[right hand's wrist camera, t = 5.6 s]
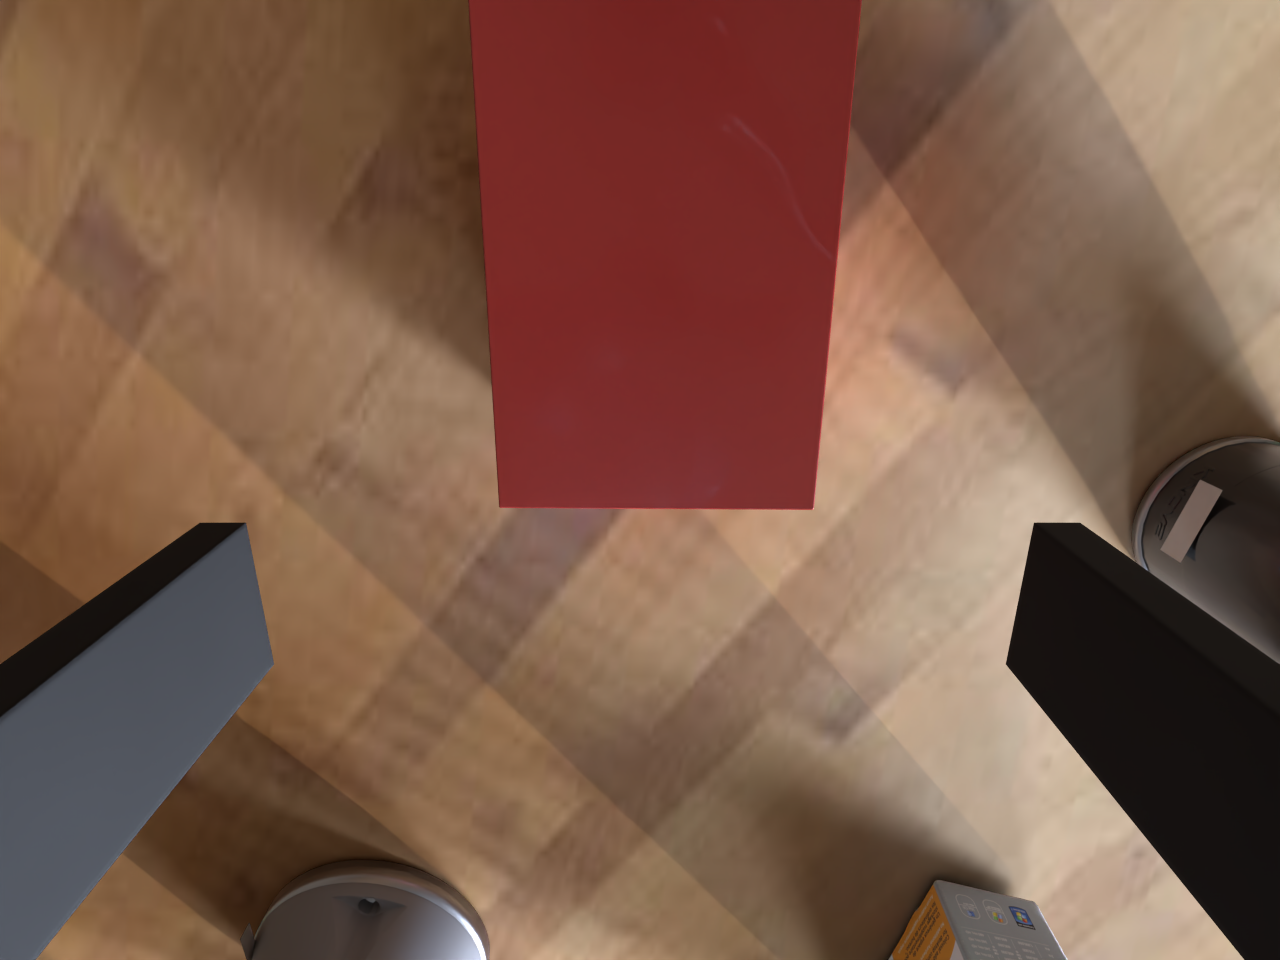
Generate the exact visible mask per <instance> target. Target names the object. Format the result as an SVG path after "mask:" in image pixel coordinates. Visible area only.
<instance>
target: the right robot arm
mask: <svg viewBox="0 0 1280 960" xmlns="http://www.w3.org/2000/svg"><path fill="white" fill-rule="evenodd" d="M273 665H274V662H273V656H272V651H271V646H270V641H269V636H268V631H267V626H266V621H265V616H264V611H263V606H262V601H261V596H260V591H259V586H258V581H257V576H256V571H255V566H254V561H253V556H252V551H251V546H250V541H249V536H248V531H247V526H246V523H199V524H198V525H196V526H195V527H193V528H192V529H191V530H189V531H188V532H186V533H185V534H183V535H182V536H181V537H179V538H178V539H176V540H175V541H174V542H172V543H171V544H169V545H168V546H167V547H165V548H164V549H162V550H161V551H160V552H158V553H157V554H155V555H154V556H152V557H151V558H150V559H148V560H147V561H145V562H144V563H143V564H141V565H140V566H138V567H137V568H136V569H134V570H133V571H131V572H130V573H128V574H127V575H126V576H124V577H123V578H121V579H120V580H119V581H117V582H116V583H114V584H113V585H112V586H110V587H109V588H107V589H106V590H104V591H103V592H102V593H100V594H99V595H97V596H96V597H95V598H93V599H92V600H90V601H89V602H88V603H86V604H85V605H83V606H82V607H81V608H79V609H78V610H76V611H75V612H73V613H72V614H71V615H69V616H68V617H66V618H65V619H64V620H62V621H61V622H59V623H58V624H57V625H55V626H54V627H52V628H51V629H49V630H48V631H47V632H45V633H44V634H42V635H41V636H40V637H38V638H37V639H35V640H34V641H33V642H31V643H30V644H28V645H27V646H25V647H24V648H23V649H21V650H20V651H18V652H17V653H16V654H14V655H13V656H11V657H10V658H9V659H7V660H6V661H4V662H3V663H2V664H0V960H36V958H37V957H38V956H39V955H40V954H41V952H42V951H43V950H44V949H45V947H46V946H47V945H48V944H49V942H50V941H51V940H52V939H53V937H54V936H55V935H56V934H57V932H58V931H59V930H60V929H61V928H62V926H63V925H64V924H65V923H66V921H67V920H68V919H69V918H70V916H71V915H72V914H73V913H74V911H75V910H76V909H77V908H78V906H79V905H80V904H81V903H82V901H83V900H84V899H85V898H86V897H87V895H88V894H89V893H90V892H91V890H92V889H93V888H94V887H95V885H96V884H97V883H98V882H99V880H100V879H101V878H102V877H103V875H104V874H105V873H106V872H107V871H108V869H109V868H110V867H111V866H112V864H113V863H114V862H115V861H116V859H117V858H118V857H119V856H120V854H121V853H122V852H123V851H124V849H125V848H126V847H127V846H128V845H129V843H130V842H131V841H132V840H133V838H134V837H135V836H136V835H137V833H138V832H139V831H140V830H141V828H142V827H143V826H144V825H145V823H146V822H147V821H148V820H149V818H150V817H151V816H152V815H153V814H154V812H155V811H156V810H157V809H158V807H159V806H160V805H161V804H162V802H163V801H164V800H165V799H166V797H167V796H168V795H169V794H170V792H171V791H172V790H173V789H174V788H175V786H176V785H177V784H178V783H179V781H180V780H181V779H182V778H183V776H184V775H185V774H186V773H187V771H188V770H189V769H190V768H191V766H192V765H193V764H194V763H195V762H196V760H197V759H198V758H199V757H200V755H201V754H202V753H203V752H204V750H205V749H206V748H207V747H208V745H209V744H210V743H211V742H212V740H213V739H214V738H215V737H216V735H217V734H218V733H219V732H220V731H221V729H222V728H223V727H224V726H225V724H226V723H227V722H228V721H229V719H230V718H231V717H232V716H233V714H234V713H235V712H236V711H237V709H238V708H239V707H240V706H241V705H242V703H243V702H244V701H245V700H246V698H247V697H248V696H249V695H250V693H251V692H252V691H253V690H254V688H255V687H256V686H257V685H258V683H259V682H260V681H261V680H262V679H263V677H264V676H265V675H266V674H267V672H268V671H269V670H270V669H271V667H272V666H273ZM1006 665H1007V666H1008V667H1009V669H1010V670H1011V671H1012V672H1013V674H1014V675H1015V676H1016V677H1017V679H1018V680H1019V681H1020V682H1021V683H1022V685H1023V686H1024V687H1025V688H1026V690H1027V691H1028V692H1029V693H1030V695H1031V696H1032V697H1033V698H1034V700H1035V701H1036V702H1037V703H1038V705H1039V706H1040V707H1041V708H1042V709H1043V711H1044V712H1045V713H1046V714H1047V716H1048V717H1049V718H1050V719H1051V721H1052V722H1053V723H1054V724H1055V726H1056V727H1057V728H1058V729H1059V731H1060V732H1061V733H1062V734H1063V735H1064V737H1065V738H1066V739H1067V740H1068V742H1069V743H1070V744H1071V745H1072V747H1073V748H1074V749H1075V750H1076V752H1077V753H1078V754H1079V755H1080V757H1081V758H1082V759H1083V760H1084V762H1085V763H1086V764H1087V765H1088V766H1089V768H1090V769H1091V770H1092V771H1093V773H1094V774H1095V775H1096V776H1097V778H1098V779H1099V780H1100V781H1101V783H1102V784H1103V785H1104V786H1105V788H1106V789H1107V790H1108V791H1109V792H1110V794H1111V795H1112V796H1113V797H1114V799H1115V800H1116V801H1117V802H1118V804H1119V805H1120V806H1121V807H1122V809H1123V810H1124V811H1125V812H1126V814H1127V815H1128V816H1129V817H1130V818H1131V820H1132V821H1133V822H1134V823H1135V825H1136V826H1137V827H1138V828H1139V830H1140V831H1141V832H1142V833H1143V835H1144V836H1145V837H1146V838H1147V840H1148V841H1149V842H1150V843H1151V845H1152V846H1153V847H1154V848H1155V849H1156V851H1157V852H1158V853H1159V854H1160V856H1161V857H1162V858H1163V859H1164V861H1165V862H1166V863H1167V864H1168V866H1169V867H1170V868H1171V869H1172V871H1173V872H1174V873H1175V874H1176V875H1177V877H1178V878H1179V879H1180V880H1181V882H1182V883H1183V884H1184V885H1185V887H1186V888H1187V889H1188V890H1189V892H1190V893H1191V894H1192V895H1193V897H1194V898H1195V899H1196V900H1197V901H1198V903H1199V904H1200V905H1201V906H1202V908H1203V909H1204V910H1205V911H1206V913H1207V914H1208V915H1209V916H1210V918H1211V919H1212V920H1213V921H1214V923H1215V924H1216V925H1217V926H1218V928H1219V929H1220V930H1221V931H1222V932H1223V934H1224V935H1225V936H1226V937H1227V939H1228V940H1229V941H1230V942H1231V944H1232V945H1233V946H1234V947H1235V949H1236V950H1237V951H1238V952H1239V954H1240V955H1241V956H1242V957H1243V958H1244V960H1280V664H1278V663H1277V662H1276V661H1274V660H1273V659H1271V658H1270V657H1269V656H1267V655H1266V654H1264V653H1263V652H1262V651H1260V650H1259V649H1257V648H1256V647H1255V646H1253V645H1252V644H1250V643H1249V642H1247V641H1246V640H1245V639H1243V638H1242V637H1240V636H1239V635H1238V634H1236V633H1235V632H1233V631H1232V630H1231V629H1229V628H1228V627H1226V626H1225V625H1223V624H1222V623H1221V622H1219V621H1218V620H1216V619H1215V618H1214V617H1212V616H1211V615H1209V614H1208V613H1207V612H1205V611H1204V610H1202V609H1201V608H1199V607H1198V606H1197V605H1195V604H1194V603H1192V602H1191V601H1190V600H1188V599H1187V598H1185V597H1184V596H1183V595H1181V594H1180V593H1178V592H1177V591H1176V590H1174V589H1173V588H1171V587H1170V586H1168V585H1167V584H1166V583H1164V582H1163V581H1161V580H1160V579H1159V578H1157V577H1156V576H1154V575H1153V574H1152V573H1150V572H1149V571H1147V570H1146V569H1144V568H1143V567H1142V566H1140V565H1139V564H1137V563H1136V562H1135V561H1133V560H1132V559H1130V558H1129V557H1128V556H1126V555H1125V554H1123V553H1122V552H1120V551H1119V550H1118V549H1116V548H1115V547H1113V546H1112V545H1111V544H1109V543H1108V542H1106V541H1105V540H1104V539H1102V538H1101V537H1099V536H1098V535H1097V534H1095V533H1094V532H1092V531H1091V530H1089V529H1088V528H1087V527H1085V526H1084V525H1082V524H1081V523H1034V526H1033V531H1032V536H1031V541H1030V546H1029V551H1028V556H1027V561H1026V566H1025V571H1024V576H1023V581H1022V586H1021V591H1020V596H1019V601H1018V606H1017V611H1016V616H1015V621H1014V626H1013V631H1012V636H1011V641H1010V646H1009V651H1008V656H1007V662H1006ZM240 940H241V943H242V946H243V950H244V953H245V956H246V959H247V960H489V955H490V947H489V939H488V935H487V932H486V929H485V926H484V924H483V922H482V920H481V918H480V917H479V915H478V913H477V912H476V910H475V909H474V908H473V907H472V905H471V904H470V903H469V902H468V901H467V900H466V899H465V898H464V897H463V896H462V895H461V894H460V893H458V892H457V891H456V890H455V889H453V888H452V887H451V886H449V885H448V884H446V883H445V882H443V881H441V880H440V879H438V878H436V877H434V876H432V875H430V874H428V873H425V872H423V871H420V870H418V869H415V868H412V867H409V866H405V865H401V864H397V863H392V862H386V861H376V860H350V861H342V862H336V863H331V864H327V865H324V866H321V867H317V868H315V869H312V870H310V871H308V872H306V873H304V874H302V875H300V876H298V877H297V878H295V879H294V880H292V881H291V882H290V883H288V884H287V885H286V886H285V887H284V888H283V889H282V890H281V891H280V892H279V893H278V894H277V896H276V897H275V899H274V900H273V901H272V903H271V905H270V907H269V909H268V911H267V913H266V915H265V916H264V918H263V920H262V922H261V924H260V926H259V928H258V930H257V932H256V935H255V937H254V935H253V932H252V929H251V926H250V923H249V924H248V926H247V927H246V929H245V931H244V933H243V935H242V937H241V939H240Z"/></svg>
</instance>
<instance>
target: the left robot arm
mask: <svg viewBox="0 0 1280 960" xmlns="http://www.w3.org/2000/svg"><path fill="white" fill-rule="evenodd" d="M1132 548H1133V552H1134V556H1135V559H1136V562H1137V564H1139V565H1140V566H1142V567H1143V568H1144V569H1146V570H1147V571H1149V572H1150V573H1152V574H1153V575H1154V576H1156V577H1157V578H1159V579H1160V580H1161V581H1163V582H1164V583H1166V584H1167V585H1168V586H1170V587H1171V588H1173V589H1174V590H1176V591H1177V592H1178V593H1180V594H1181V595H1183V596H1184V597H1185V598H1187V599H1188V600H1190V601H1191V602H1192V603H1194V604H1195V605H1197V606H1198V607H1199V608H1201V609H1202V610H1204V611H1205V612H1207V613H1208V614H1209V615H1211V616H1212V617H1214V618H1215V619H1216V620H1218V621H1219V622H1221V623H1222V624H1223V625H1225V626H1226V627H1228V628H1229V629H1231V630H1232V631H1233V632H1235V633H1236V634H1238V635H1239V636H1240V637H1242V638H1243V639H1245V640H1246V641H1247V642H1249V643H1250V644H1252V645H1253V646H1255V647H1256V648H1257V649H1259V650H1260V651H1262V652H1263V653H1264V654H1266V655H1267V656H1269V657H1270V658H1271V659H1273V660H1274V661H1276V662H1277V663H1278V664H1280V443H1279V442H1276V441H1273V440H1270V439H1267V438H1262V437H1254V436H1237V437H1229V438H1224V439H1220V440H1216V441H1213V442H1210V443H1207V444H1205V445H1202V446H1200V447H1198V448H1196V449H1194V450H1192V451H1190V452H1188V453H1187V454H1185V455H1183V456H1182V457H1180V458H1179V459H1177V460H1176V461H1175V462H1174V463H1172V464H1171V465H1170V466H1169V467H1168V468H1166V469H1165V470H1164V471H1163V472H1162V473H1161V474H1160V475H1159V476H1158V477H1157V479H1156V480H1155V481H1154V482H1153V483H1152V485H1151V486H1150V487H1149V489H1148V490H1147V492H1146V493H1145V495H1144V497H1143V499H1142V500H1141V502H1140V505H1139V507H1138V509H1137V512H1136V515H1135V518H1134V523H1133V528H1132Z"/></svg>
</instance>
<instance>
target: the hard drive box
mask: <svg viewBox="0 0 1280 960" xmlns="http://www.w3.org/2000/svg"><path fill="white" fill-rule="evenodd" d="M889 960H1067V958H1066V956H1065V955H1064V953H1063V951H1062V949H1061V947H1060V946H1059V944H1058V942H1057V940H1056V938H1055V937H1054V935H1053V933H1052V931H1051V929H1050V928H1049V926H1048V924H1047V922H1046V920H1045V918H1044V916H1043V915H1042V913H1041V911H1040V909H1039V907H1038V905H1036V903H1035V902H1033V901H1029V900H1025V899H1021V898H1016V897H1012V896H1007V895H1003V894H998V893H994V892H990V891H985V890H981V889H977V888H972V887H968V886H964V885H960V884H955V883H951V882H946V881H942V880H936V881H935V882H934V883H933V885H932V887H931V888H930V890H929V892H928V894H927V895H926V897H925V899H924V900H923V902H922V904H921V905H920V907H919V908H918V909H917V910H915V912H914V914H913V915H912V917H911V919H910V921H909V923H908V925H907V928H906V930H905V932H904V934H903V936H902V938H901V939H900V941H899V943H898V944H897V946H896V948H895V949H894V951H893V953H892V955H891V957H890V958H889Z"/></svg>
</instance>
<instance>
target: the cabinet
mask: <svg viewBox="0 0 1280 960" xmlns="http://www.w3.org/2000/svg"><path fill="white" fill-rule="evenodd" d="M861 4H862V0H468V5H469V21H470V38H471V54H472V70H473V87H474V103H475V119H476V136H477V152H478V168H479V184H480V201H481V217H482V233H483V250H484V266H485V282H486V298H487V315H488V331H489V347H490V364H491V380H492V396H493V412H494V429H495V445H496V461H497V478H498V494H499V507H500V508H624V509H776V510H813V509H814V501H815V490H816V480H817V469H818V459H819V448H820V437H821V427H822V416H823V406H824V395H825V384H826V374H827V363H828V353H829V342H830V332H831V321H832V310H833V300H834V289H835V279H836V268H837V258H838V247H839V236H840V226H841V215H842V205H843V194H844V183H845V173H846V162H847V152H848V141H849V131H850V120H851V109H852V99H853V88H854V78H855V67H856V57H857V46H858V35H859V25H860V14H861Z"/></svg>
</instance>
